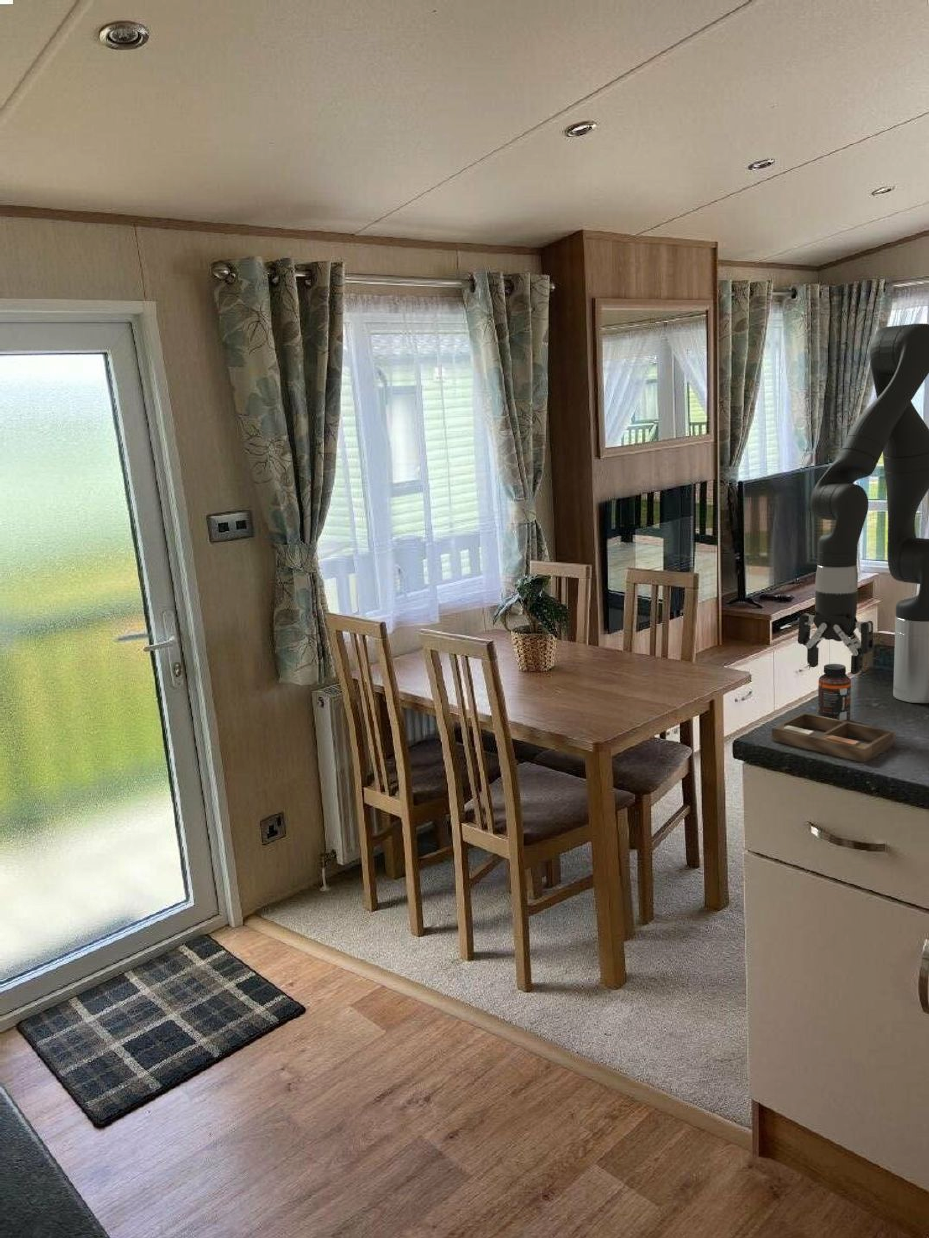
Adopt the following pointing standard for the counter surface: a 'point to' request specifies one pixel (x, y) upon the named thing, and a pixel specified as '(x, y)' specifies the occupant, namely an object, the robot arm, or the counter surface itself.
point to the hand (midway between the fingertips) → (833, 669)
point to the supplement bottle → (834, 693)
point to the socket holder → (833, 736)
